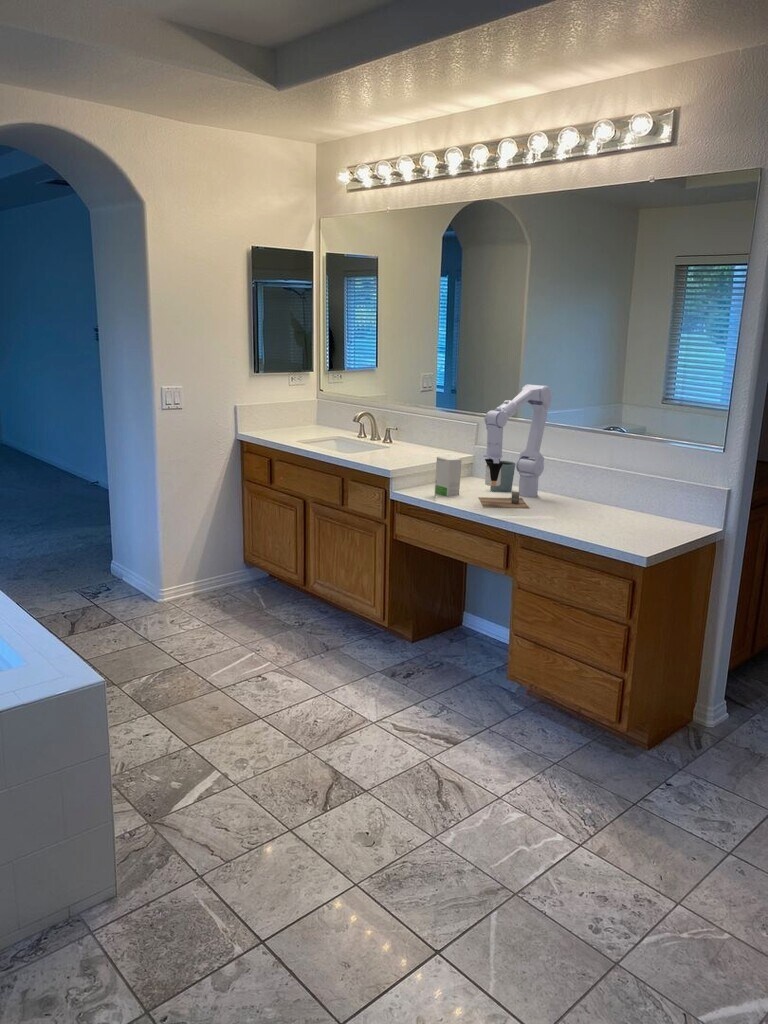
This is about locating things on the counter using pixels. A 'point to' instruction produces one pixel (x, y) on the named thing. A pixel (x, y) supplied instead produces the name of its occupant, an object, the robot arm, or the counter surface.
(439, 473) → the skincare box
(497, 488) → the green plant pot
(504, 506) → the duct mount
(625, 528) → the counter surface
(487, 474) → the duct sleeve
